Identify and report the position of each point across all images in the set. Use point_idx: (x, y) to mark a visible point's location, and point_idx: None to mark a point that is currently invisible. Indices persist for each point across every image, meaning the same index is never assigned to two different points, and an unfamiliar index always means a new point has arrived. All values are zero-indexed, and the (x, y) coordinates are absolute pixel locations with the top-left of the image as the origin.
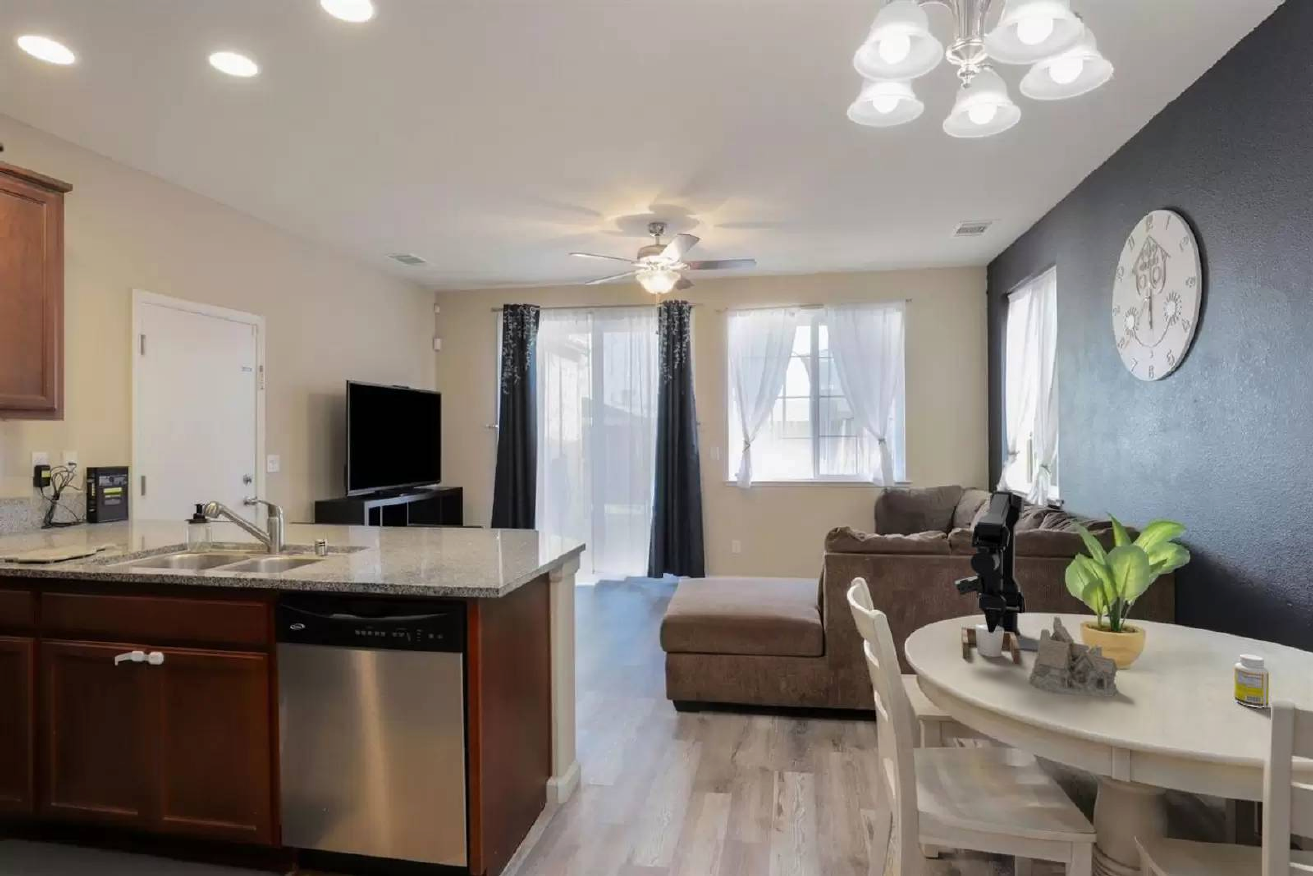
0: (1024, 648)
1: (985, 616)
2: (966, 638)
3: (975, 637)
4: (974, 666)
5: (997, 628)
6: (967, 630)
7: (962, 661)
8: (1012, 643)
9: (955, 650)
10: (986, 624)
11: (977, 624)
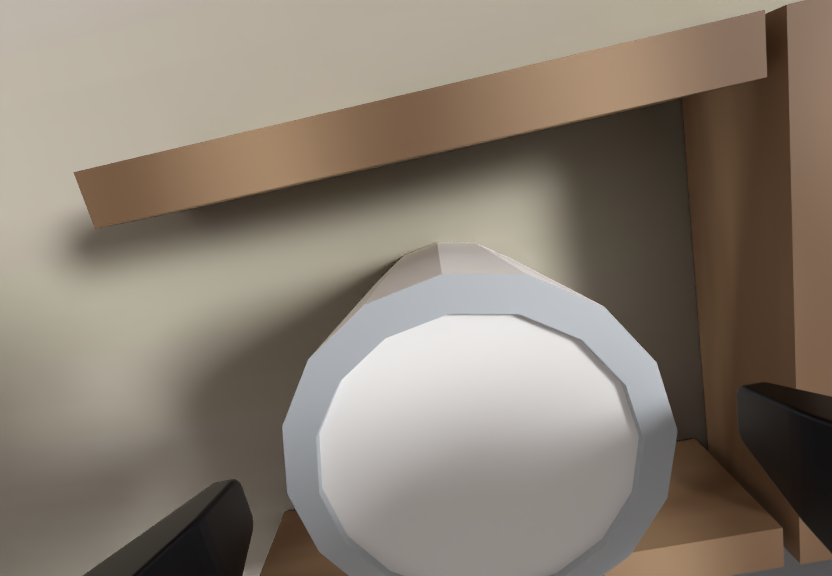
0: None
1: (824, 429)
2: (268, 174)
3: (728, 184)
4: (13, 293)
5: (476, 553)
6: (770, 89)
7: (68, 187)
8: None
9: (360, 59)
10: (626, 405)
11: (538, 293)
